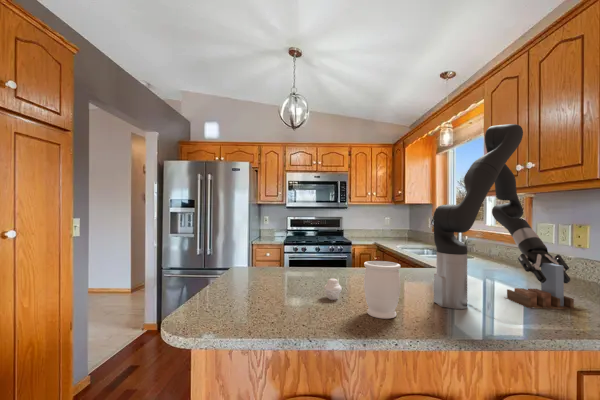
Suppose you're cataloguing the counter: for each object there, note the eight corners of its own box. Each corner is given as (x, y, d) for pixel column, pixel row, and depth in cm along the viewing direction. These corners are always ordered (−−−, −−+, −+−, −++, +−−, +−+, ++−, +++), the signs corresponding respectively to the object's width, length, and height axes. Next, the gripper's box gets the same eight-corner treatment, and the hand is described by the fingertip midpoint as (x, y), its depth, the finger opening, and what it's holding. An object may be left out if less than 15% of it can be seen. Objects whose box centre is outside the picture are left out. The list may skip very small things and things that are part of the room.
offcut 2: (541, 305, 97) (541, 293, 97) (527, 300, 102) (527, 288, 103) (551, 305, 96) (551, 293, 97) (536, 300, 102) (536, 288, 103)
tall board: (556, 306, 96) (555, 265, 97) (541, 300, 102) (541, 262, 103) (563, 306, 96) (563, 265, 97) (548, 300, 102) (548, 262, 103)
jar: (380, 323, 81) (380, 267, 81) (356, 311, 90) (357, 261, 90) (408, 317, 86) (408, 265, 86) (382, 306, 95) (383, 259, 95)
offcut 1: (527, 305, 97) (527, 292, 97) (514, 299, 103) (514, 288, 103) (536, 305, 97) (536, 293, 97) (523, 300, 103) (523, 288, 103)
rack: (527, 310, 94) (527, 298, 94) (504, 300, 105) (504, 289, 105) (575, 312, 94) (575, 299, 94) (546, 301, 105) (546, 290, 105)
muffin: (320, 297, 103) (320, 277, 103) (332, 294, 107) (332, 275, 108) (333, 302, 99) (333, 280, 99) (345, 298, 103) (345, 278, 103)
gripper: (514, 235, 108) (540, 275, 96) (554, 236, 108) (585, 276, 96) (504, 248, 113) (528, 287, 101) (542, 249, 113) (570, 288, 101)
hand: (555, 281), depth 98 cm, fingers open, 7 cm apart
